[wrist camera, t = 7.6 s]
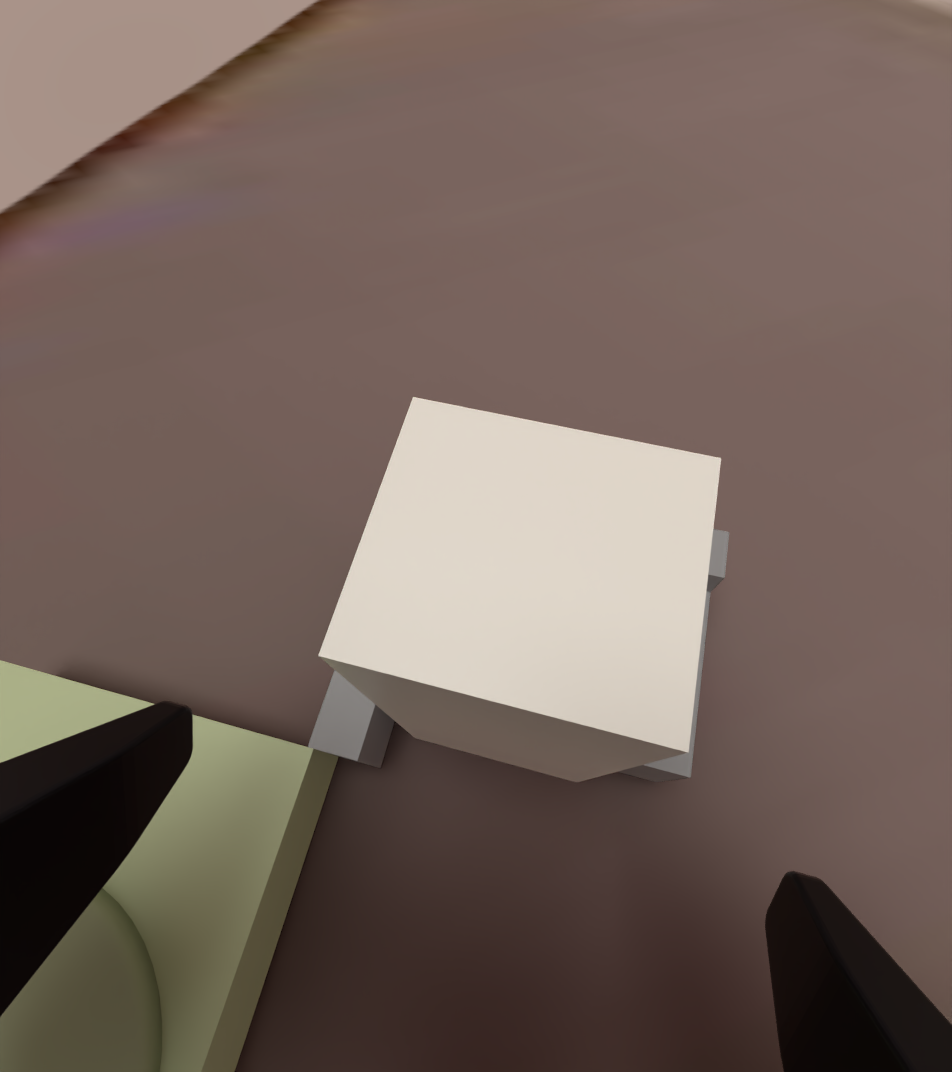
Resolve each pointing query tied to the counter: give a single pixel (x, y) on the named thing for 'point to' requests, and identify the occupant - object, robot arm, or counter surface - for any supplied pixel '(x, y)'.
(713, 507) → the white block
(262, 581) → the counter surface
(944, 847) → the counter surface
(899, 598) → the counter surface
